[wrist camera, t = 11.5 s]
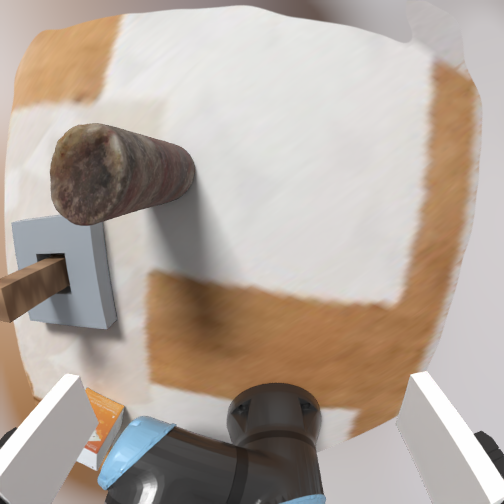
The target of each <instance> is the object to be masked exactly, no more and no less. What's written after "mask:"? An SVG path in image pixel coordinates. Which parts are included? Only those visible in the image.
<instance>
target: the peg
mask: <svg viewBox="0 0 504 504" xmlns="http://www.w3.org/2000/svg"><path fill="white" fill-rule="evenodd" d="M69 285H70V282H69V276H68V271H67V265H66V259H65V254H63V255H53V256H51V257H48V258H46V259H44V260H41V261H39V262H37V263H34V264H32V265H30V266H27V267H25V268H23V269H21V270H18V271H16V272H14V273H12V274H10V275H8V276H5V277H3V278H1V279H0V321H4V322H9V323H11V322H12V321H14V320H15V319H17V318H18V317H20V316H21V315H23V314H24V313H26V312H27V311H29V310H30V309H32V308H34V307H35V306H37V305H38V304H40V303H41V302H43V301H45V300H46V299H48V298H49V297H51V296H53V295H54V294H56V293H58V292H59V291H61V290H62V289H64V288H66V287H67V286H69Z"/></svg>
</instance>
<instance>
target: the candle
mask: <svg viewBox="0 0 504 504" xmlns="http://www.w3.org/2000/svg"><path fill="white" fill-rule="evenodd" d="M194 173H195V166H194V162H193V160H192V158H191V156H190V155H189V154H188V152H187V151H186V150H185V149H183V148H182V147H180V146H178V145H175V144H172V143H168V142H165V141H162V140H158V139H154V138H151V137H147V136H144V135H141V134H137V133H134V132H130V131H126V130H124V129H120V128H116V127H113V126H109V125H104V124H99V123H93V124H86V125H77V126H75V127H73V128H71V129H69V130H68V131H67V132H66V133H65V134H64V136H63V137H62V138H60V139H59V140H58V142H57V145H56V148H55V153H54V155H53V157H52V162H51V168H50V176H51V198H52V201H53V204H54V206H55V208H56V210H57V211H58V212H59V213H60V214H61V215H62V216H63V217H64V218H65V219H67V220H68V221H70V222H71V223H73V224H75V225H80V226H90V225H95V224H97V223H100V222H103V221H106V220H109V219H112V218H115V217H119V216H122V215H125V214H128V213H131V212H135V211H138V210H141V209H145V208H149V207H153V206H157V205H160V204H164V203H167V202H170V201H173V200H176V199H178V198H179V197H181V196H182V195H183V194H184V193H185V192H186V191H187V190H188V189H189V187H190V185H191V183H192V180H193V177H194Z"/></svg>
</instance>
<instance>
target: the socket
mask: <svg viewBox="0 0 504 504" xmlns="http://www.w3.org/2000/svg"><path fill="white" fill-rule="evenodd" d="M12 231H13V239H14V246H15V252H16V259H17V264H18V270H21V269H23V268H25V267H27V266H30V265H32V264H34V263H37V262H39V261H41V260H44V259H46V258H48V257H51V256H50V253H65V259H66V265H67V271H68V276H69V282H70V286H67V287H66V288H64V289H62V290H61V291H59V292H58V293H56V294H54V295H53V296H51V297H49V298H48V299H46V300H45V301H43V302H41V303H40V304H38V305H37V306H35V307H34V308H32V309H30V310H29V311H28V313H29V317H30V320H32V321H39V322H46V323H53V324H61V325H70V326H79V327H88V328H99V329H108V328H109V327H110V326H111V325H112V324H113V323H114V322H115V321H116V320H117V315H116V310H115V305H114V300H113V294H112V289H111V283H110V276H109V270H108V263H107V256H106V248H105V239H104V230H103V222H100V223H97V224H95V225H90V226H80V225H75V224H73V223H71V222H70V221H68V220H67V219H65V218H64V217H63V216H62V215H56V216H48V217H40V218H32V219H25V220H21V221H16V222H12Z"/></svg>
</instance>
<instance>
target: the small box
mask: <svg viewBox="0 0 504 504" xmlns="http://www.w3.org/2000/svg"><path fill="white" fill-rule="evenodd" d="M85 391H86V394H87V396H88V399H89V401H90V404H91V406H92V408H93V411H94V413H95V415H96V418H97V420H98V422H99V424H98V425H97V427H96V429H95V430H94V432H93V434H92V435H91V437H90V439H89V440H88V442H87V444H86V445H85V447H84V449H83V450H82V452H81V454H80V455H79V457H78V459H77V460H76V461H78V462H80V463H82V464H84V465H86V466H88V467H90V468H92V469H94V470H96V471H97V470H98V469H99V467H100V465H101V463H102V461H103V459H104V457H105V455H106V453H107V452H108V450H109V448H110V446H111V444H112V442H113V441H114V439H115V437H116V435H117V433H118V431H119V429H120V427H121V425H122V419H123V413H124V406H123V405H121V404H118V403H116V402H114V401H112V400H110V399H108V398H106V397H104V396H102V395H100V394H98V393H96V392H94V391H92V390H91V389H89V388H86V390H85Z"/></svg>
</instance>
